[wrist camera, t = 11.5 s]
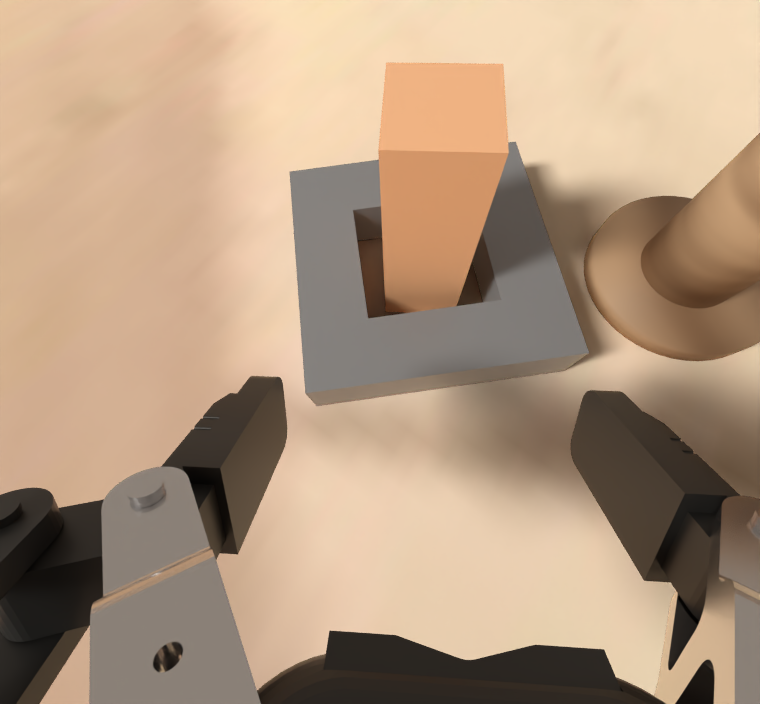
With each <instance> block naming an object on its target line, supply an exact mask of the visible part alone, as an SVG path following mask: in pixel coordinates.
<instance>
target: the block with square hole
mask: <svg viewBox="0 0 760 704" xmlns="http://www.w3.org/2000/svg"><path fill="white" fill-rule="evenodd" d="M508 149H509V154H508V157H507V160H506V163H505V166H504V169H503V171H502V174H501V177H500V180H499V183H498V186H497V189H496V192H495V195H494V198H493V201H492V204H491V207H490V210H489V212H488V215H487V218H486V221H485V224H484V227H483V230H482V233H481V236H480V239H479V242H478V245H477V248H476V251H475V253H474V256H473V259H472V262H473V266H474V270H475V274H476V278H477V281H478V285H479V289H480V293H481V297H482V301H483V302H482V303H475V304H468V305H461V306H454V307H447V308H439V309H432V310H425V311H418V312H411V313H404V314H396V315H389V316H382V317H375V318H368V313H367V306H366V299H365V292H364V285H363V278H362V270H361V263H360V256H359V249H358V242H357V241H361V240H368V239H375V238H382V218H381V195H380V172H379V160H374V161H367V162H359V163H352V164H344V165H337V166H329V167H322V168H314V169H307V170H299V171H292V172H290V183H291V197H292V211H293V225H294V239H295V253H296V267H297V281H298V295H299V309H300V323H301V337H302V351H303V365H304V379H305V393H306V394H307V396H308V397H309V398H310V399H311V400H312V401H313V402H314V403H315V404H316V406H320V405H327V404H334V403H341V402H348V401H355V400H362V399H369V398H376V397H383V396H390V395H397V394H404V393H411V392H418V391H425V390H432V389H439V388H446V387H453V386H460V385H467V384H474V383H481V382H488V381H495V380H502V379H509V378H516V377H524V376H531V375H538V374H545V373H552V372H559V371H564V370H566V369H567V368H569V367H570V366H572V365H573V364H574V363H576V362H577V361H579V360H580V359H582V358H583V357H584V356H586V355H587V354H589V351H588V348H587V345H586V342H585V340H584V337H583V334H582V331H581V328H580V325H579V322H578V320H577V317H576V314H575V311H574V308H573V305H572V302H571V299H570V297H569V294H568V291H567V288H566V285H565V282H564V279H563V277H562V274H561V271H560V268H559V265H558V262H557V259H556V256H555V254H554V251H553V248H552V245H551V242H550V239H549V236H548V234H547V231H546V228H545V225H544V222H543V219H542V216H541V213H540V211H539V208H538V205H537V202H536V199H535V196H534V193H533V191H532V188H531V185H530V182H529V179H528V176H527V173H526V170H525V168H524V165H523V162H522V159H521V156H520V153H519V150H518V148H517V145H516V142H510V143H508Z"/></svg>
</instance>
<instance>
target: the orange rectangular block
mask: <svg viewBox="0 0 760 704" xmlns="http://www.w3.org/2000/svg"><path fill="white" fill-rule="evenodd" d="M508 154H509V149H508V133H507V117H506V101H505V85H504V69H503V64H459V63H386V72H385V83H384V95H383V106H382V117H381V128H380V139H379V172H380V195H381V218H382V241H383V264H384V287H385V310H386V312H401V313H411V312H418V311H425V310H432V309H439V308H447V307H454V306H457V303H458V300H459V297H460V294H461V292H462V289H463V286H464V283H465V280H466V277H467V274H468V271H469V268H470V265H471V262H472V259H473V256H474V253H475V251H476V248H477V245H478V242H479V239H480V236H481V233H482V230H483V227H484V224H485V221H486V218H487V215H488V212H489V210H490V207H491V204H492V201H493V198H494V195H495V192H496V189H497V186H498V183H499V180H500V177H501V174H502V171H503V169H504V166H505V163H506V160H507V157H508Z"/></svg>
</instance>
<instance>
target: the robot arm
mask: <svg viewBox="0 0 760 704" xmlns="http://www.w3.org/2000/svg"><path fill="white" fill-rule="evenodd" d="M286 438H287V420H286V410H285V400H284V391H283V383H282V380H281V378H280V377H264V376H251V377H250V378H249V379H248V380H247V382H246V383H245V384H244V386H243V387H242V388H241V389H240V391H239V392H238V393H237V394H234V393H230V394H228V395H227V396H225V397H223V398H222V399H220V400H219V401H217V402H215V403H214V404H213V405H212V406H211V407H210V409H209V410H208V411H207V412H206V413H205V415H204V416H203V419H200V421H199V422H198V423H197V424H196V425H195V428H194V430H193V429H192V430H191V431H190V433H189V434H188V435H187V436H186V437H185V439H184V440H183V441H182V442H181V444H180V445H179V446H178V447H177V448H176V450H175V451H174V452H173V453H172V454H171V456H170V457H169V458H168V459H167V460H166V462H165V463H164V464H163V465H162V466H161V467H156V468H151V469H147V470H144V471H141V472H138V473H136V474H134V475H132V476H130V477H128V478H126V479H125V480H123V481H122V482H120V483H119V484H117V485H116V486H115V487H114V488H113V489H112V490H111V491H110V492H109V493H108V494H107V496H106V497H105V499H104V500H100V501H94V502H89V503H83V504H78V505H72V506H67V507H62V508H58V506H57V504H56V502H55V499H54V497H53V495H52V494H51V493H50V492H49V491H47V490H45V489H42V488H26V489H19V490H15V491H11V492H8V493H5V494H2V495H0V704H39V703H40V702H41V700H42V699H43V697H44V696H45V694H46V692H47V691H48V689H49V688H50V686H51V685H52V683H53V681H54V680H55V678H56V677H57V675H58V674H59V672H60V671H61V669H62V667H63V666H64V664H65V663H66V661H67V660H68V658H69V656H70V655H71V653H72V652H73V650H74V649H75V647H76V646H77V644H78V642H79V641H80V639H81V638H82V636H83V635H84V633H85V631H86V630H87V628H88V627H89V625H90V698H89V704H760V499H757V498H752V497H747V496H740V495H739V494H738V493H737V492H736V491H735V490H734V489H733V488H732V487H731V486H730V485H729V484H728V483H726V482H725V481H724V480H723V479H722V478H721V477H720V476H719V475H718V474H717V473H716V472H715V471H714V470H713V469H712V468H711V467H710V466H709V465H707V464H706V463H705V462H704V461H703V460H702V459H701V458H700V457H699V456H698V455H697V454H693V450H692V449H691V448H690V447H688V446H687V445H686V444H685V443H684V442H681V441H680V438H679V437H678V436H677V435H676V434H675V433H674V432H673V431H672V430H671V429H670V428H668V427H667V426H666V425H665V424H664V423H662V422H660V421H659V420H657V419H655V418H654V417H652V416H650V415H648V414H647V413H645V412H642V411H641V410H640V409H639V408H638V407H637V406H636V405H635V404H634V403H633V402H632V401H631V400H630V399H629V398H628V397H627V396H626V395H625V394H624V393H622V392H618V391H593V390H590V391H587V392H586V393H585V395H584V397H583V399H582V403H581V406H580V410H579V414H578V417H577V421H576V424H575V428H574V432H573V435H572V439H571V455H572V459H573V461H574V464H575V465H576V467H577V469H578V470H579V472H580V474H581V475H582V477H583V479H584V481H585V482H586V484H587V486H588V487H589V489H590V491H591V492H592V494H593V496H594V497H595V499H596V501H597V502H598V504H599V506H600V507H601V509H602V511H603V512H604V514H605V516H606V517H607V519H608V521H609V522H610V524H611V526H612V528H613V529H614V531H615V533H616V534H617V536H618V538H619V539H620V541H621V543H622V544H623V546H624V548H625V549H626V551H627V553H628V554H629V556H630V558H631V559H632V561H633V563H634V564H635V566H636V568H637V569H638V571H639V573H640V574H641V576H642V578H643V580H644V581H658V582H671V583H672V585H673V586H674V588H675V589H676V591H675V593H674V595H673V597H672V599H671V602H670V607H669V614H668V620H667V627H666V633H665V640H664V646H663V653H662V659H661V666H660V672H659V678H658V683H657V687H656V691H655V694H654V696H653V695H651V694H650V693H648V692H646V691H644V690H643V689H641V688H639V687H637V686H635V685H632V684H630V683H628V682H626V681H624V680H622V679H619V678H616V677H615V674H614V672H613V670H612V667H611V665H610V663H609V660H608V658H607V656H606V653H605V651H604V650H602V649H588V648H573V647H559V646H544V645H533V646H528V647H524V648H520V649H516V650H512V651H508V652H504V653H500V654H496V655H492V656H488V657H484V658H480V659H475V660H463V659H460V658H457V657H454V656H451V655H449V654H446V653H443V652H440V651H438V650H435V649H432V648H429V647H426V646H424V645H421V644H418V643H415V642H413V641H410V640H407V639H404V638H402V637H399V636H396V635H384V634H370V633H355V632H341V631H330V632H329V638H328V645H327V651H326V654H324V655H320V656H316V657H313V658H310V659H308V660H305V661H303V662H300V663H298V664H296V665H294V666H292V667H290V668H288V669H286V670H285V671H283V672H281V673H280V674H278V675H277V676H275V677H274V678H273V679H271V680H270V681H268V682H267V683H265V684H264V685H263V686H262V687H261V688H260V689H259V690H256V687H255V683H254V680H253V677H252V674H251V671H250V667H249V664H248V661H247V658H246V655H245V651H244V648H243V645H242V642H241V639H240V636H239V632H238V629H237V626H236V623H235V620H234V616H233V613H232V610H231V607H230V604H229V600H228V597H227V594H226V591H225V588H224V584H223V581H222V578H221V575H220V572H219V568H218V565H217V562H216V559H217V557H218V555H219V553H227V554H238V553H239V551H240V548H241V546H242V544H243V541H244V539H245V537H246V535H247V532H248V530H249V528H250V525H251V523H252V521H253V518H254V516H255V514H256V512H257V509H258V507H259V505H260V502H261V500H262V498H263V496H264V493H265V491H266V489H267V486H268V484H269V482H270V479H271V477H272V475H273V473H274V470H275V468H276V466H277V463H278V461H279V459H280V457H281V454H282V452H283V450H284V447H285V443H286Z"/></svg>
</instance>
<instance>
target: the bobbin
mask: <svg viewBox="0 0 760 704" xmlns="http://www.w3.org/2000/svg"><path fill="white" fill-rule="evenodd" d="M584 275H585V281H586V285H587V288H588V291H589V294H590V296H591V298H592V300H593V302H594V304H595V305H596V307H597V309H598V310H599V312H600V313H601V314H602V315H603V317H604V318H605V319H606V320H607V321H608V322H609V323H610V324H611V325H612V326H613V327H614V328H615V329H616V330H617V331H618V332H619V333H621V334H622V335H623V336H624V337H626V338H627V339H629V340H630V341H632V342H633V343H635V344H637V345H639V346H641V347H642V348H644V349H646V350H649V351H651V352H654V353H656V354H659V355H662V356H666V357H669V358H673V359H679V360H686V361H706V360H714V359H718V358H723V357H725V356H728V355H731V354H734V353H736V352H738V351H741V350H743V349H746V348H748V347H751V346H753V345H755V344H756V343H758V342H760V133H759V134H758V135H757V136H756V137H755V138H754V139H753V140H752V141H751V142H750V143H749V144H748V145H747V146H746V147H745V148H744V149H743V150H742V151H741V152H740V153H739V154H738V155H737V156H736V157H735V158H734V159H733V160H732V161H731V162H730V163H729V164H728V165H727V166H726V167H725V168H724V169H723V170H721V171H720V172H719V173H718V174H717V175H716V176H715V177H714V178H713V179H712V180H711V181H710V182H709V183H708V184H707V185H706V186H705V187H704V188H703V189H702V190H701V191H700V192H699V193H698V194H697V195H696V196H695V197H694V198H693V199H690V198H685V197H677V196H658V197H650V198H644V199H640V200H637V201H634V202H631V203H629V204H627V205H625V206H623V207H621V208H620V209H618V210H617V211H615V212H614V213H613V214H612V215H611V216H610V217H609V218H608V219H607V220H606V221H605V222H604V224H603V225H602V226H601V227H600V229H599V230H598V231H597V233H596V234H595V235H594V236H593V238H592V240H591V242H590V243H589V245H588V248H587V251H586V254H585V260H584Z"/></svg>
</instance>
